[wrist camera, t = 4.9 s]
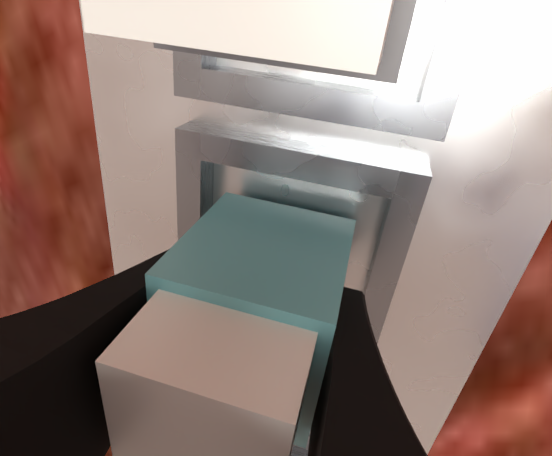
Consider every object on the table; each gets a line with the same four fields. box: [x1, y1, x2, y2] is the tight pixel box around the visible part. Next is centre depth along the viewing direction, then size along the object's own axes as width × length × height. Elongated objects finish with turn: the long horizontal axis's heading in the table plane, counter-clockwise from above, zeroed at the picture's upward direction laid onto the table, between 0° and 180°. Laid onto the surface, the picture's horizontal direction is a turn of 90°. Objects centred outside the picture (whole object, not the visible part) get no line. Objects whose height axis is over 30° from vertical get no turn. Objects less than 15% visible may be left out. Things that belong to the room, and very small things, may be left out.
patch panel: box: [79, 0, 552, 456], centre depth 13 cm, size 14×24×2 cm, turn 174°
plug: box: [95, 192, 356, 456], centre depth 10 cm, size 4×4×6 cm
